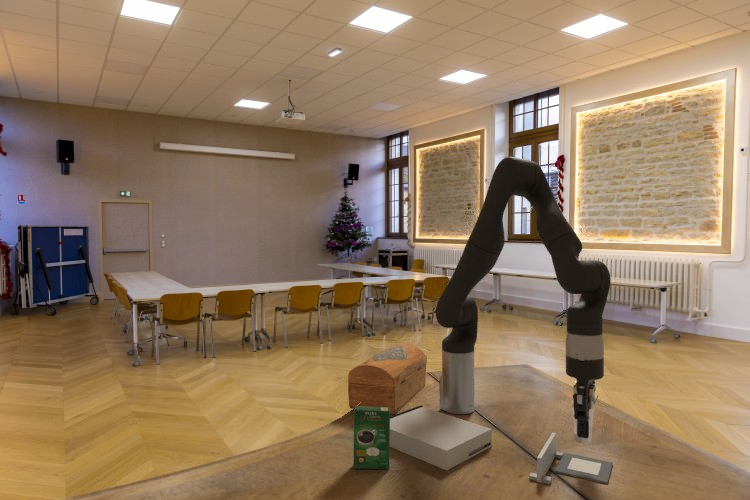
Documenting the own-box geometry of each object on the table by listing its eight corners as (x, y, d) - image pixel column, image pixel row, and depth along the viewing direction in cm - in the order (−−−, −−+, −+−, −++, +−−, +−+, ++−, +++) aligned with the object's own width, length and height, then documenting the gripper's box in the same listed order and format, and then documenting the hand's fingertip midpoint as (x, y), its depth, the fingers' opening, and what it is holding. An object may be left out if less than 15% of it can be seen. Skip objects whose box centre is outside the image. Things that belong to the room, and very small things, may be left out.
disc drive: (420, 422, 134) (420, 404, 134) (492, 448, 118) (492, 427, 118) (373, 442, 122) (373, 422, 122) (446, 473, 106) (446, 450, 106)
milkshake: (600, 446, 103) (601, 398, 103) (573, 444, 104) (573, 397, 104) (595, 437, 108) (595, 392, 108) (569, 435, 109) (569, 390, 109)
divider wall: (529, 480, 101) (529, 455, 101) (545, 452, 114) (545, 430, 114) (549, 484, 99) (549, 460, 99) (563, 456, 112) (563, 434, 112)
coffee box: (391, 464, 109) (390, 405, 109) (390, 470, 106) (389, 410, 106) (354, 463, 110) (353, 405, 109) (353, 469, 107) (352, 409, 106)
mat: (555, 472, 104) (555, 470, 104) (564, 454, 113) (564, 452, 113) (607, 484, 99) (607, 481, 99) (612, 464, 108) (612, 462, 108)
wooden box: (383, 380, 173) (382, 341, 173) (428, 386, 166) (427, 345, 166) (343, 408, 146) (342, 361, 145) (395, 415, 139) (394, 367, 139)
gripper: (571, 345, 114) (571, 419, 114) (559, 359, 101) (559, 441, 102) (607, 349, 110) (607, 425, 110) (599, 363, 97) (599, 449, 98)
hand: (584, 433), depth 106 cm, fingers closed on milkshake, 4 cm apart
